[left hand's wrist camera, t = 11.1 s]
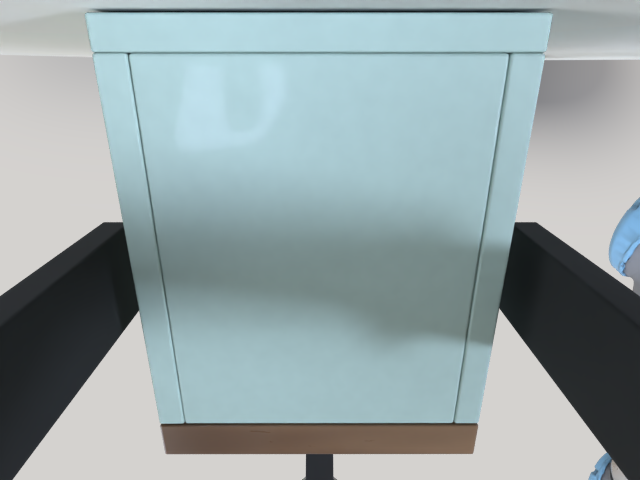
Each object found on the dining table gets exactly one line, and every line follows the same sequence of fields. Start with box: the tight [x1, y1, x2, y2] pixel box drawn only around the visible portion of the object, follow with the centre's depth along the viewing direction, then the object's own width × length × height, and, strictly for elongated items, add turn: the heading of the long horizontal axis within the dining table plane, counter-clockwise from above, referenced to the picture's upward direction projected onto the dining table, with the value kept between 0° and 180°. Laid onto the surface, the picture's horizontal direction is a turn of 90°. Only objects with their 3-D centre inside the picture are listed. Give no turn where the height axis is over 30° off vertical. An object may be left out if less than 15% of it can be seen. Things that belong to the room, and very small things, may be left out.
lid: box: [161, 420, 478, 454], centre depth 22 cm, size 18×9×8 cm, turn 0°
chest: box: [85, 12, 553, 424], centre depth 18 cm, size 17×9×10 cm, turn 0°
